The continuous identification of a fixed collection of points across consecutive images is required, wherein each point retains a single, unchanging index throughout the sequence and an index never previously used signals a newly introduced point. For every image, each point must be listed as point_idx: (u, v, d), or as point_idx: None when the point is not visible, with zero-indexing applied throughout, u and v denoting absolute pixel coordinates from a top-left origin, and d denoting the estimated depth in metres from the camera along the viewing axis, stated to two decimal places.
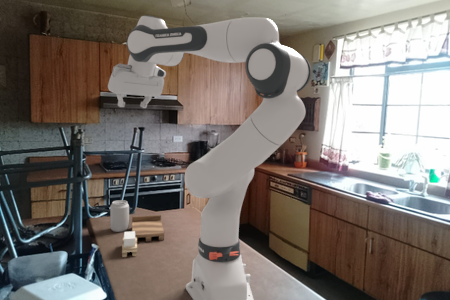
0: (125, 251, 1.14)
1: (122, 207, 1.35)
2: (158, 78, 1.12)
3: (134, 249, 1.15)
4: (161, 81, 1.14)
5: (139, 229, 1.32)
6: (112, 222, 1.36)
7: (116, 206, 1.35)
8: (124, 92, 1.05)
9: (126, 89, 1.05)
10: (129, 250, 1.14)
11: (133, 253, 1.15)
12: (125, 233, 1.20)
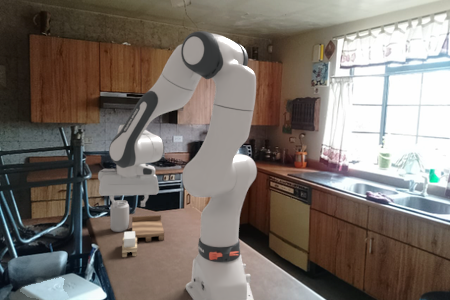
0: (125, 251, 1.14)
1: (122, 207, 1.35)
2: (147, 176, 1.15)
3: (134, 249, 1.15)
4: (153, 179, 1.16)
5: (139, 229, 1.32)
6: (112, 222, 1.36)
7: None
8: (111, 193, 1.14)
9: (112, 190, 1.14)
10: (129, 250, 1.14)
11: (133, 253, 1.15)
12: (125, 233, 1.20)
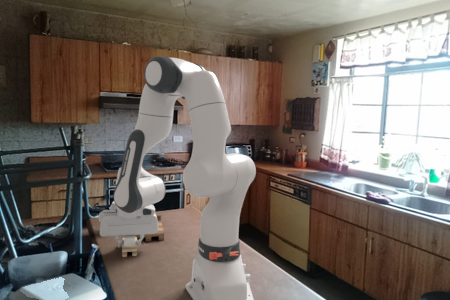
0: (125, 251, 1.14)
1: None
2: (147, 216, 1.17)
3: (134, 249, 1.15)
4: (152, 218, 1.18)
5: None
6: None
7: (116, 206, 1.35)
8: (111, 234, 1.15)
9: (113, 231, 1.15)
10: (129, 250, 1.14)
11: (133, 253, 1.15)
12: None
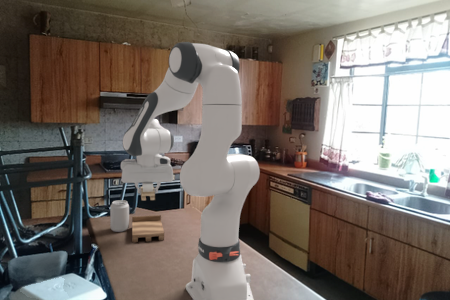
0: (144, 195, 1.28)
1: (122, 207, 1.35)
2: (163, 165, 1.31)
3: (152, 193, 1.29)
4: (168, 168, 1.32)
5: (139, 229, 1.32)
6: (112, 222, 1.36)
7: (116, 206, 1.35)
8: (132, 181, 1.29)
9: (133, 178, 1.29)
10: (148, 194, 1.29)
11: (151, 197, 1.29)
12: None
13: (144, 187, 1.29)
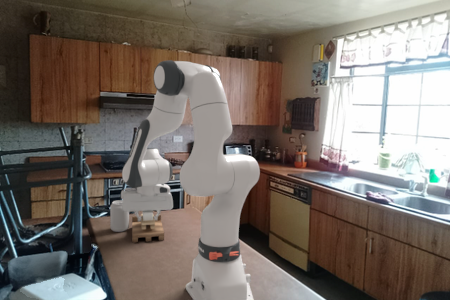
0: (144, 224, 1.30)
1: None
2: (163, 194, 1.33)
3: (152, 222, 1.30)
4: (168, 196, 1.34)
5: (139, 229, 1.32)
6: (112, 222, 1.36)
7: (116, 206, 1.35)
8: (132, 210, 1.31)
9: (133, 207, 1.31)
10: (148, 223, 1.30)
11: (151, 226, 1.31)
12: None
13: (144, 216, 1.31)
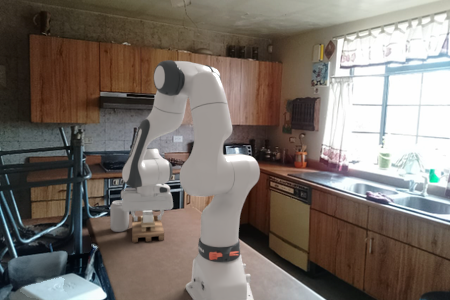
0: (144, 226, 1.30)
1: None
2: (163, 194, 1.33)
3: (152, 224, 1.31)
4: (168, 196, 1.34)
5: (139, 229, 1.32)
6: (112, 222, 1.36)
7: (116, 206, 1.35)
8: (132, 209, 1.31)
9: (133, 207, 1.31)
10: (148, 225, 1.30)
11: (151, 228, 1.31)
12: (144, 211, 1.36)
13: (144, 218, 1.31)
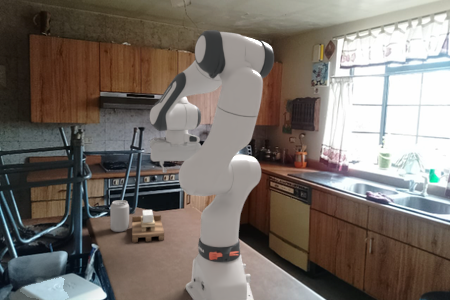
0: (144, 226, 1.30)
1: (122, 207, 1.35)
2: (192, 143, 1.29)
3: (152, 224, 1.31)
4: (197, 146, 1.30)
5: (139, 229, 1.32)
6: (112, 222, 1.36)
7: (116, 206, 1.35)
8: (161, 159, 1.27)
9: (162, 156, 1.27)
10: (148, 225, 1.30)
11: (151, 228, 1.31)
12: (144, 211, 1.36)
13: (144, 218, 1.31)
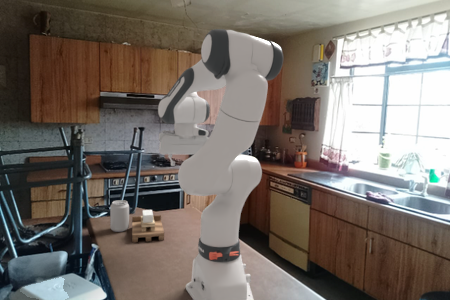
0: (144, 226, 1.30)
1: (122, 207, 1.35)
2: (201, 137, 1.29)
3: (152, 224, 1.31)
4: (206, 140, 1.30)
5: (139, 229, 1.32)
6: (112, 222, 1.36)
7: (116, 206, 1.35)
8: (170, 152, 1.27)
9: (171, 150, 1.27)
10: (148, 225, 1.30)
11: (151, 228, 1.31)
12: (144, 211, 1.36)
13: (144, 218, 1.31)
